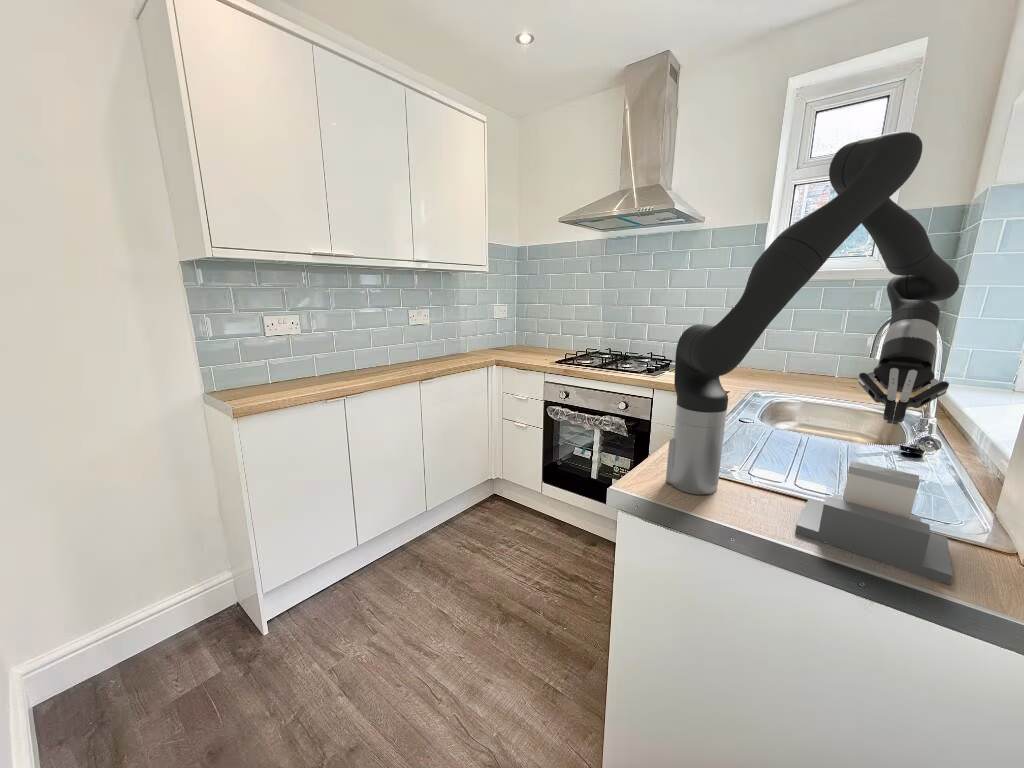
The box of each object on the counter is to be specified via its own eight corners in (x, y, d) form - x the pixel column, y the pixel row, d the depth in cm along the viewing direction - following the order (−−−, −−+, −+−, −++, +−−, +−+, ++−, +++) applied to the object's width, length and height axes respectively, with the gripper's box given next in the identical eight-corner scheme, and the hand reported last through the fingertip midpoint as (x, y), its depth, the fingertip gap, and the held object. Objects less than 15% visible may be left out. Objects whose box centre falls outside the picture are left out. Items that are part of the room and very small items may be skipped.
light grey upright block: (837, 521, 68) (849, 466, 66) (840, 514, 70) (851, 460, 68) (904, 541, 62) (919, 482, 60) (904, 533, 65) (919, 475, 62)
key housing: (795, 532, 68) (801, 497, 67) (807, 505, 77) (813, 473, 75) (950, 585, 56) (962, 543, 55) (944, 545, 65) (955, 508, 63)
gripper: (865, 333, 82) (847, 404, 76) (962, 338, 73) (949, 419, 67) (862, 355, 87) (845, 424, 81) (952, 363, 78) (940, 440, 72)
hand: (892, 421), depth 74 cm, fingers closed
